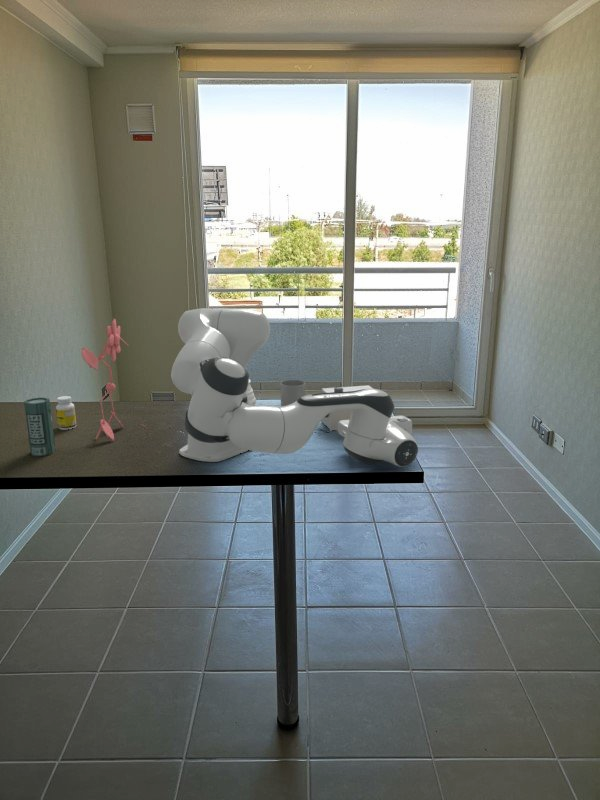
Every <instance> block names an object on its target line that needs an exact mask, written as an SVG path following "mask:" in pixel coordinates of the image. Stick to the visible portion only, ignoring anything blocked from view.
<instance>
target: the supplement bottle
mask: <svg viewBox="0 0 600 800" xmlns="http://www.w3.org/2000/svg"><path fill="white" fill-rule="evenodd" d="M56 400H57V403H58V404H57V405H56V406H55V410H56V418H57V428H58V429H59V430H62V431H68V429H69V430H73V429H75V428H77V418H76V410H75V408H76V407H75V404H74V403H72V397H71V396H70V395H69V396H68V395H63V396H59V397H57V399H56ZM72 428H73V429H72Z"/></svg>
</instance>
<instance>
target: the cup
mask: <svg viewBox="0 0 600 800" xmlns="http://www.w3.org/2000/svg"><path fill="white" fill-rule="evenodd" d="M304 395H306V381H303V380H299V379H288V380H287V379H286V380H282V381H281V382H280V407H282V406H287V405H290V404H292V403H294V402H296V401H297V400H298V399H299V398H300V397H301V396H304Z"/></svg>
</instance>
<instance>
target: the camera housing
mask: <svg viewBox="0 0 600 800" xmlns="http://www.w3.org/2000/svg"><path fill="white" fill-rule="evenodd" d="M362 389H374V388H373V387H372V386H371V385H358V386H357V385H355V386H340V387H327V388H325V387H323V388H321V393H332V392H349V391H357V390H362ZM351 413H352V410H349V411H336V412H331V413H329V414H328V415H326V416H325V417H324V418H323V419H322V421H321V423H322V424H325V425H326V426H327V427H328V428H329V429H330V430H336V431H338V422H339V421H341V420H350V417H351ZM325 425H324V426H325ZM326 426H325V427H326ZM327 427H326V428H327ZM328 428H327V429H328ZM329 429H328V430H329ZM330 430H329V431H330Z"/></svg>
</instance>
